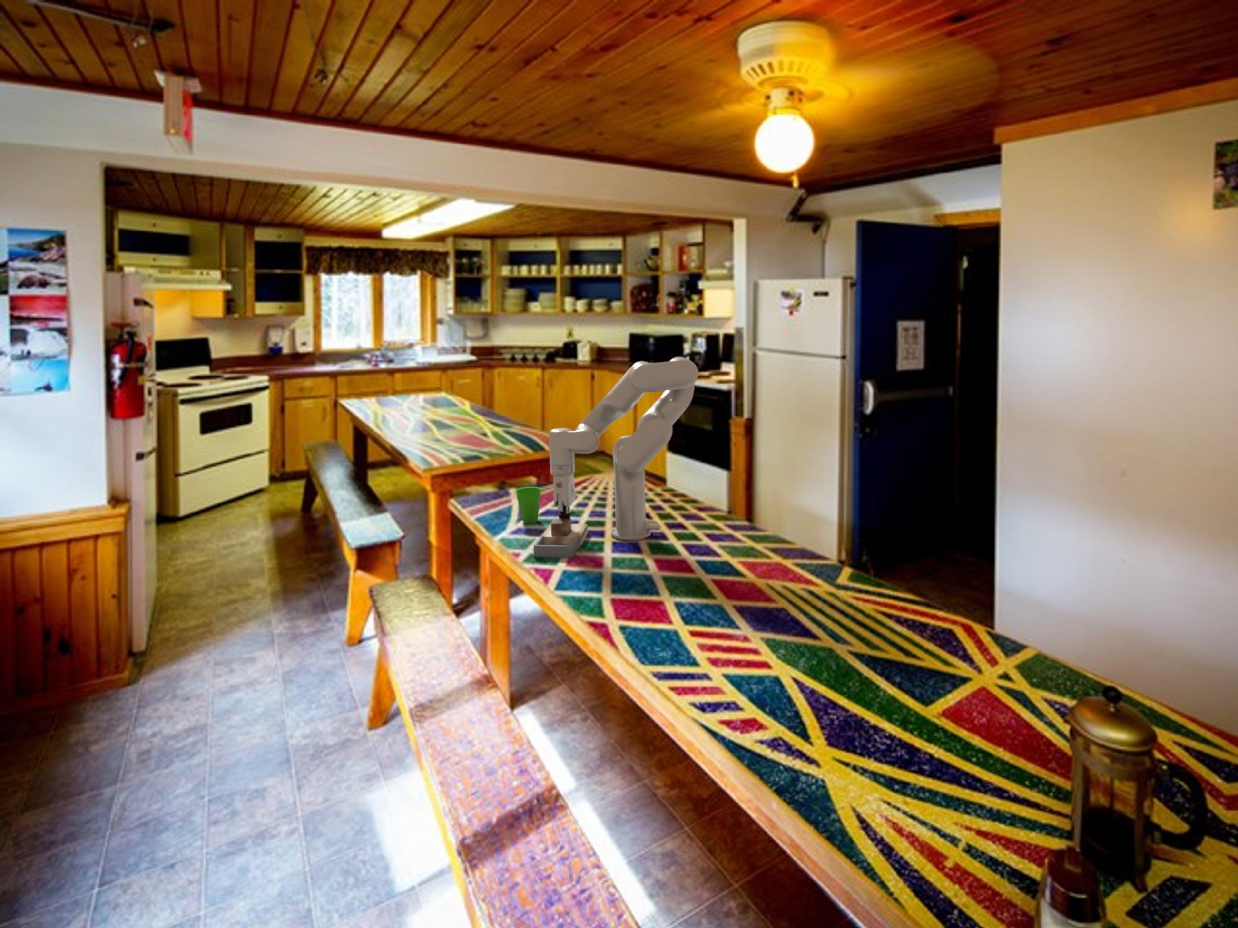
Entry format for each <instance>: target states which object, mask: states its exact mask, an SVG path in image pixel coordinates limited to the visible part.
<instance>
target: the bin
mask: <svg viewBox="0 0 1238 928" xmlns="http://www.w3.org/2000/svg"><path fill="white" fill-rule="evenodd" d="M579 549H580V547H579V536H576V537H575V539H574V540H573V542H572V544H571V545H544V535H543V534H541V535H540V536H539V538H538V539H537V540H536V541H535V543H534V545H533V556H534V557H533V558H552V559H553V558H556V559H557V558H558V559H559V558H561V559H562V558H563V559H567V558H568V559H573V558H574V557H575V555H577V554H576V553H577V552H578V550H579Z"/></svg>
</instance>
